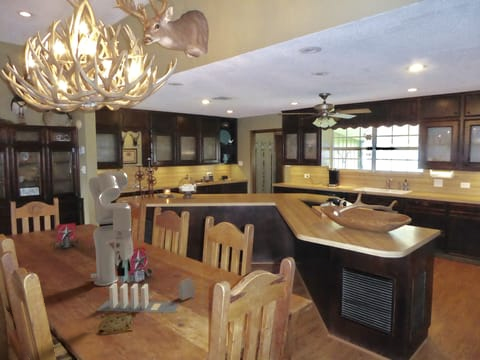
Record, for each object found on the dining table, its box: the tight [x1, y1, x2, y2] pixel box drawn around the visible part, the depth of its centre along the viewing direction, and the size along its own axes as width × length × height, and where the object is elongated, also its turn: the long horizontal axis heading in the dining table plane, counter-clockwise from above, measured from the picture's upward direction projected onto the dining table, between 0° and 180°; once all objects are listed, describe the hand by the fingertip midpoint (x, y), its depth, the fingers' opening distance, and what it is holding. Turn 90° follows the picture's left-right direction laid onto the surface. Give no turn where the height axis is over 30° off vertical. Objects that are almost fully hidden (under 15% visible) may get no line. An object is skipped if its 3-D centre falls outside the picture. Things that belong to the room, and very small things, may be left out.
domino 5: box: [140, 283, 150, 309], centre depth 155 cm, size 2×5×10 cm, turn 176°
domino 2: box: [119, 259, 129, 284], centre depth 148 cm, size 2×5×10 cm, turn 175°
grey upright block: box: [177, 277, 195, 301], centre depth 165 cm, size 4×7×10 cm, turn 132°
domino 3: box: [119, 282, 129, 309], centre depth 155 cm, size 2×5×10 cm, turn 176°
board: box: [96, 300, 180, 314], centre depth 155 cm, size 36×10×1 cm, turn 86°
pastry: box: [98, 312, 137, 336], centre depth 141 cm, size 17×17×3 cm
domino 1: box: [108, 282, 119, 308], centre depth 156 cm, size 2×5×10 cm, turn 176°
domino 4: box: [129, 283, 139, 309], centre depth 155 cm, size 2×5×10 cm, turn 176°
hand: (124, 273), depth 148 cm, fingers closed on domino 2, 4 cm apart
